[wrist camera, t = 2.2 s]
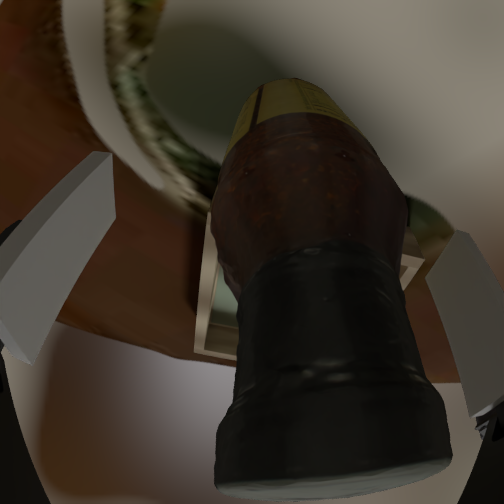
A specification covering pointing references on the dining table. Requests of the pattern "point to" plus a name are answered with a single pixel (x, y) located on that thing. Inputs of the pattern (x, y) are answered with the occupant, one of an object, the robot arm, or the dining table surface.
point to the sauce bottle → (318, 310)
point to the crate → (225, 305)
